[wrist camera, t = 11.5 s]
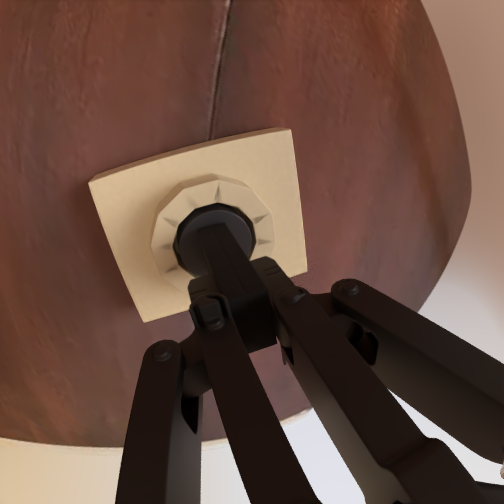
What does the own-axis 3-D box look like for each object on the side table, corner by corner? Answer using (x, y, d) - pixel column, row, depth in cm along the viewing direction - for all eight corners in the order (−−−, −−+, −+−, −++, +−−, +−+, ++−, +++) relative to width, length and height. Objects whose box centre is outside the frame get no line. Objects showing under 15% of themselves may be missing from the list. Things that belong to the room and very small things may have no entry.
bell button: (236, 193, 18) (245, 201, 16) (248, 253, 19) (257, 266, 18) (168, 212, 17) (170, 222, 15) (186, 272, 19) (190, 287, 17)
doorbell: (277, 126, 19) (305, 131, 16) (295, 258, 24) (319, 284, 20) (94, 174, 17) (80, 190, 13) (143, 305, 22) (144, 340, 18)
